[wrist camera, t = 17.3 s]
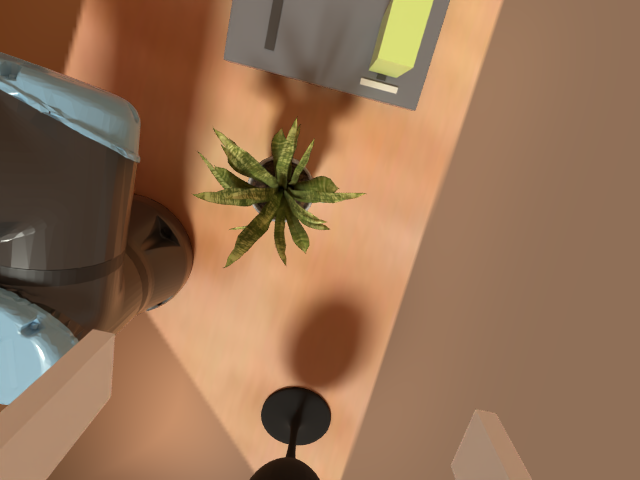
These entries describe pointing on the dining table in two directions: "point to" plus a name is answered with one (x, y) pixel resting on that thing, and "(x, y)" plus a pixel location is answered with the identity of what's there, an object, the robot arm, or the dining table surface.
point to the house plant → (273, 192)
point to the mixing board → (327, 45)
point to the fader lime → (400, 36)
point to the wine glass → (293, 431)
